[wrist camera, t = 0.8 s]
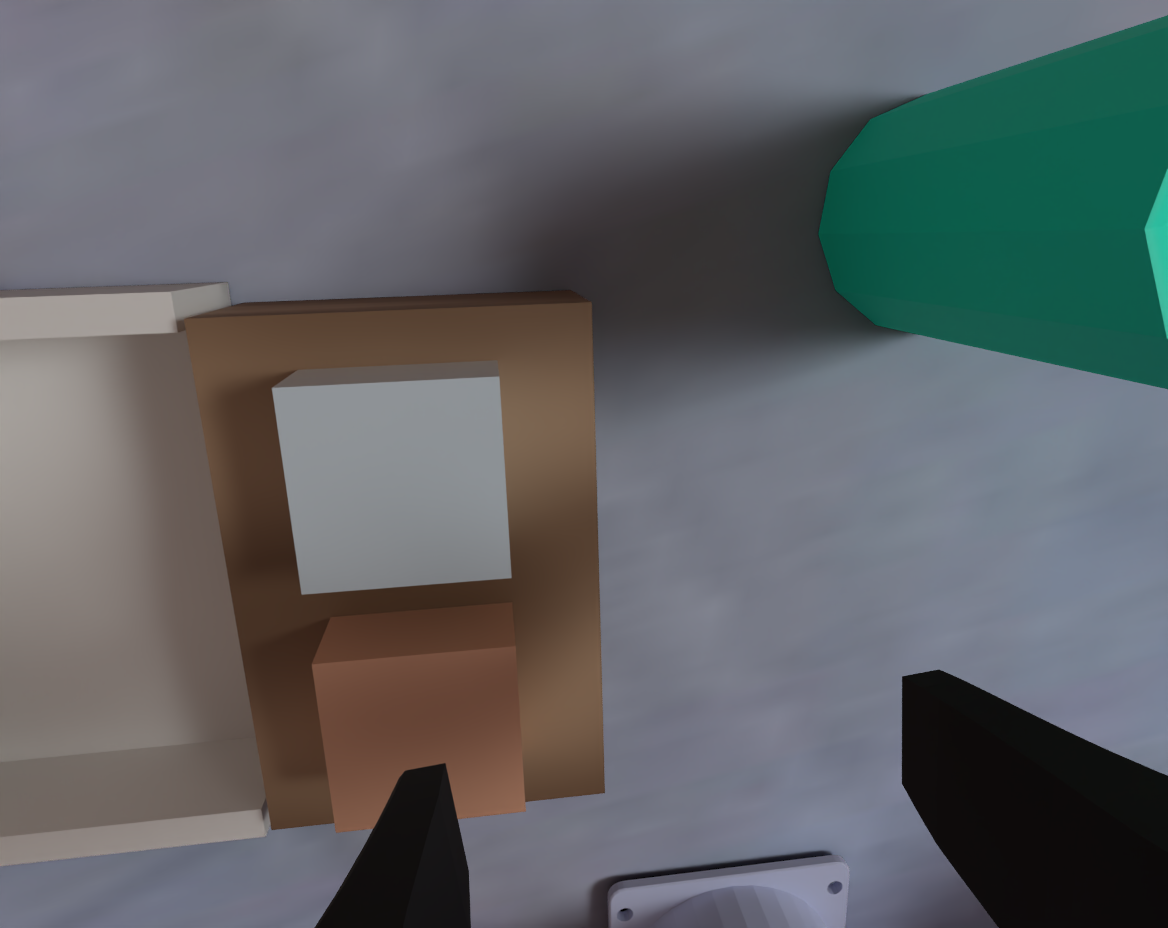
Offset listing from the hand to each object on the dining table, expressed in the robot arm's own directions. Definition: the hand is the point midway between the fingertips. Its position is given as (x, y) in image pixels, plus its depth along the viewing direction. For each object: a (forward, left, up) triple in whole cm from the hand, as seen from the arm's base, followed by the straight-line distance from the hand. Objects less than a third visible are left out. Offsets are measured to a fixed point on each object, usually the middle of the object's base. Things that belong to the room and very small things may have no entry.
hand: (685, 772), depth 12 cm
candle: (+8, -9, -11) cm, 16 cm away
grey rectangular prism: (+4, +4, -6) cm, 8 cm away
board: (+1, +4, -10) cm, 11 cm away
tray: (+1, +13, -10) cm, 17 cm away
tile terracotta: (-2, +4, -6) cm, 8 cm away
